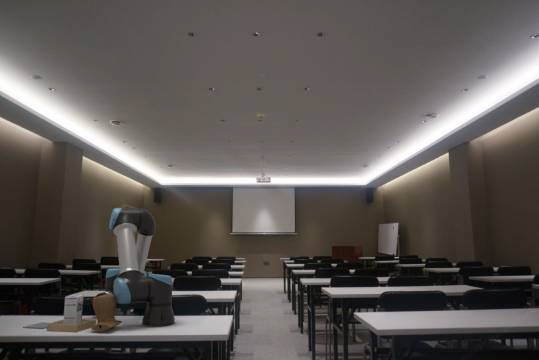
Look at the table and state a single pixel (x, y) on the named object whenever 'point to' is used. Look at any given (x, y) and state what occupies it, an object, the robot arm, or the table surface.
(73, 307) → the syrup box
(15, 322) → the table surface
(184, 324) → the table surface
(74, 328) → the mailer box
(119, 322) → the stone cup
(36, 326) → the slate pad
